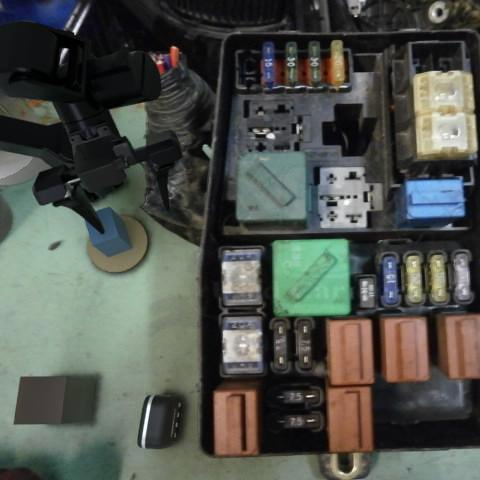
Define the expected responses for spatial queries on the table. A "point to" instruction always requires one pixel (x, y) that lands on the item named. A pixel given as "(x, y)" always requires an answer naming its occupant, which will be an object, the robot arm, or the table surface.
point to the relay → (109, 233)
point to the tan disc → (125, 258)
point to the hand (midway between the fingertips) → (136, 221)
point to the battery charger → (159, 421)
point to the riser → (54, 400)
